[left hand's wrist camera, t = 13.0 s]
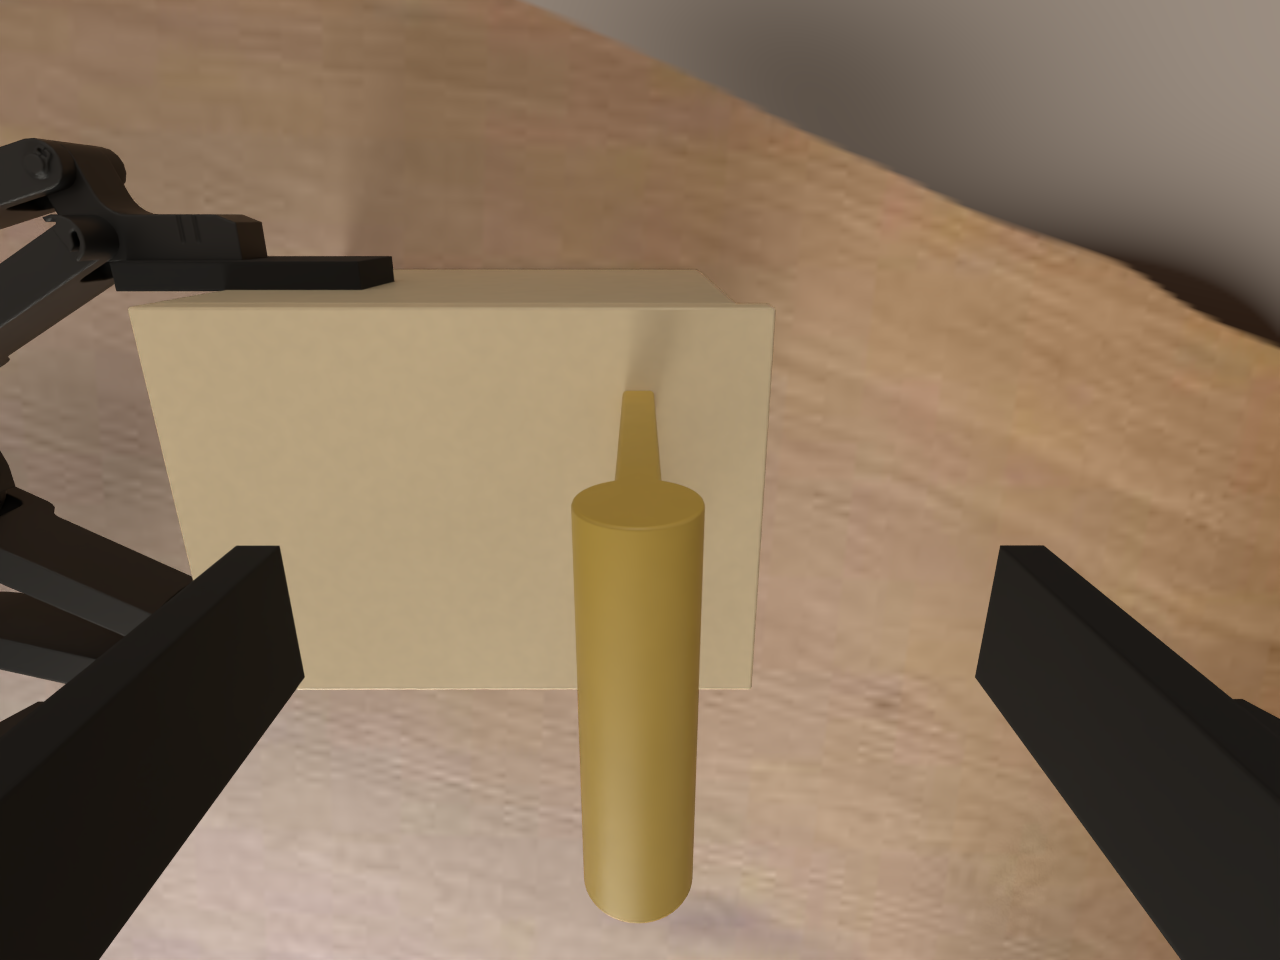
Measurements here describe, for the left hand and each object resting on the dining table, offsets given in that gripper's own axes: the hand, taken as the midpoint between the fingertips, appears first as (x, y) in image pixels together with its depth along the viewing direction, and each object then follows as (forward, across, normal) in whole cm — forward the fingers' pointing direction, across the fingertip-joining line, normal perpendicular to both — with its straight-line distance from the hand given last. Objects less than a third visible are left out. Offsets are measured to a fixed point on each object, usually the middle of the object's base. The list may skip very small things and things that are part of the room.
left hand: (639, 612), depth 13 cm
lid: (+5, +4, 0) cm, 7 cm away
